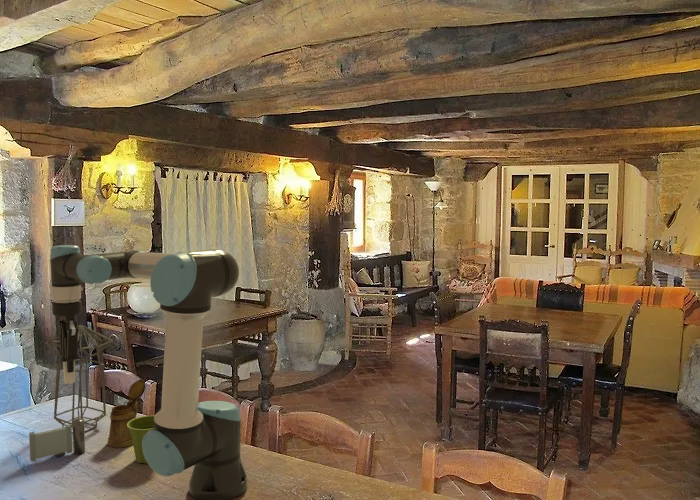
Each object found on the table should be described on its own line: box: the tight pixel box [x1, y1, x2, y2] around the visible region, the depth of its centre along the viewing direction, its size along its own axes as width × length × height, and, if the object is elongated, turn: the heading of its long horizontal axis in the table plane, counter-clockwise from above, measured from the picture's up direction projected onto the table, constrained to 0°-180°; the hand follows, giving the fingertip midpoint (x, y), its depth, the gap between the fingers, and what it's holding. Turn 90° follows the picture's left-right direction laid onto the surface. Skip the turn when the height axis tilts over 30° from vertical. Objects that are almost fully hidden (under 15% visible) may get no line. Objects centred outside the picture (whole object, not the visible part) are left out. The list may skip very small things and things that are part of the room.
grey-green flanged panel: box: [28, 424, 73, 463], centre depth 179 cm, size 11×2×8 cm, turn 128°
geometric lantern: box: [45, 324, 114, 435], centre depth 202 cm, size 16×16×35 cm
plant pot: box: [127, 414, 156, 465], centre depth 180 cm, size 12×12×11 cm
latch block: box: [55, 452, 66, 458], centre depth 183 cm, size 2×2×6 cm
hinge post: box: [72, 418, 86, 456], centre depth 184 cm, size 3×3×10 cm
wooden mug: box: [107, 378, 146, 449], centre depth 194 cm, size 9×14×18 cm, turn 155°
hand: (69, 382), depth 174 cm, fingers closed
